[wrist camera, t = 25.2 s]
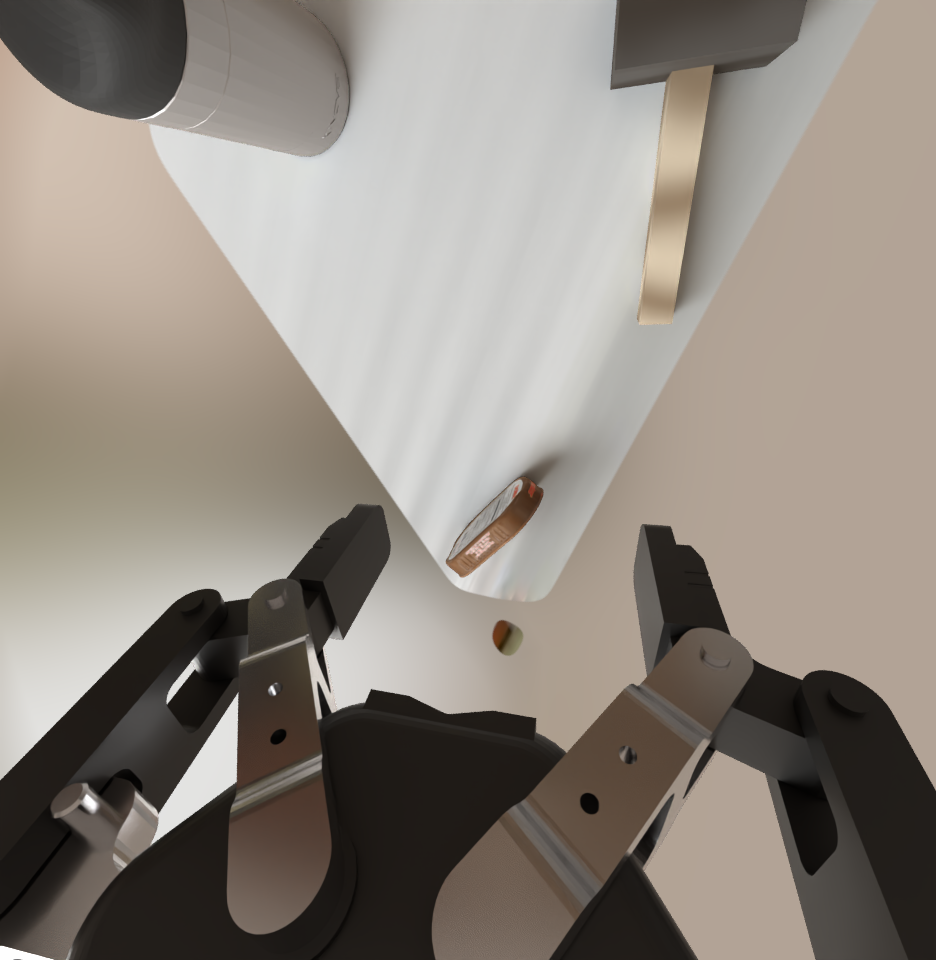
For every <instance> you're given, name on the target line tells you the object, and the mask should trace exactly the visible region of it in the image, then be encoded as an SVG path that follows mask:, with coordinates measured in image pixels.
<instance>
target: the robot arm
mask: <svg viewBox="0 0 936 960" xmlns="http://www.w3.org/2000/svg"><path fill="white" fill-rule="evenodd" d="M0 38H1V40H2V41H3V42H4V44H5V45H6V46H7V48H8V49H9V50H10V51H11V52H12V54H13V55H14V56H15V57H16V59H17V60H18V61H19V62H20V63H21V64H22V65H23V67H24V68H25V69H26V70H27V71H28V72H30V74H32V76H34V77H35V78H36V79H37V80H38V81H39V82H40V83H42V84H43V85H44V86H45V87H46V88H48V89H49V90H51V91H52V92H53V93H55V94H56V95H58V96H60V97H61V98H63V99H65V100H66V101H68V102H71V103H72V104H75V105H77V106H79V107H82V108H85V109H87V110H90V111H94V112H98V113H102V114H106V115H110V116H115V117H120V118H125V119H130V120H135V121H139V122H144V123H148V124H153V125H158V126H162V127H167V128H173V129H178V130H182V131H187V132H191V133H196V134H201V135H205V136H210V137H215V138H219V139H224V140H229V141H233V142H238V143H242V144H247V145H252V146H256V147H261V148H266V149H270V150H274V151H278V152H283V153H288V154H292V155H297V156H310V157H311V156H315V155H318V154H321V153H323V152H324V151H326V150H327V149H329V148H330V147H331V146H332V145H333V144H334V142H335V141H336V140H337V139H338V137H339V135H340V133H341V131H342V130H343V127H344V124H345V121H346V117H347V112H348V105H349V84H348V78H347V72H346V67H345V64H344V61H343V58H342V55H341V52H340V50H339V48H338V46H337V44H336V42H335V40H334V38H333V36H332V35H331V34H330V32H329V31H328V29H327V28H326V27H325V25H324V24H323V23H322V22H321V21H320V20H318V19H317V18H316V17H315V16H314V15H313V14H312V13H310V12H309V11H308V10H306V9H305V8H304V7H302V6H301V5H300V4H298V3H297V2H296V1H294V0H0ZM390 546H391V545H390V538H389V534H388V529H387V524H386V520H385V515H384V511H383V508H382V507H381V506H380V505H368V504H357V505H356V506H355V507H354V508H353V510H352V511H351V512H350V513H349V515H348V516H347V517H346V518H341V519H339V520H338V521H336V522H335V523H333V524H332V525H330V526H329V527H328V528H327V529H326V530H325V532H324V533H323V534H322V535H321V537H320V540H317V541H316V543H315V544H314V545H313V548H311V549H310V550H309V551H308V553H307V554H306V555H305V556H304V558H303V559H302V560H301V561H300V562H299V564H298V565H297V566H296V567H295V569H294V570H293V571H292V572H291V574H290V575H289V576H288V577H287V579H279V580H275V581H272V582H270V583H267V584H265V585H264V586H262V587H261V588H259V589H258V590H257V591H256V592H255V593H254V594H253V595H252V596H251V598H249V599H242V600H235V601H228V602H224V600H223V599H222V597H221V595H220V593H219V592H218V591H216V590H214V589H202V590H197V591H194V592H192V593H189V594H187V595H185V596H183V597H182V598H180V599H179V600H177V601H176V602H175V603H173V604H172V605H171V606H170V607H169V608H168V609H167V610H166V611H165V612H164V614H163V615H161V617H160V618H159V619H158V620H157V621H156V622H155V623H154V624H153V625H152V626H151V627H150V628H149V629H148V630H147V631H146V632H145V633H144V634H143V635H142V636H141V637H140V638H139V639H138V640H137V641H136V642H135V643H134V644H133V645H132V646H131V647H130V648H129V649H128V650H127V651H126V652H125V653H124V654H123V655H122V656H121V657H120V659H118V661H117V662H116V663H115V664H114V665H113V666H112V667H111V668H110V669H109V670H108V671H107V672H106V673H105V674H104V675H103V676H102V677H101V678H100V679H99V680H98V681H97V682H96V683H95V684H94V685H93V686H92V687H91V688H90V689H89V690H88V691H87V692H86V693H85V694H84V695H83V696H82V697H81V698H80V699H79V700H78V702H77V703H76V704H75V705H74V706H73V707H72V708H71V709H70V710H69V711H68V712H67V713H66V714H65V715H64V716H63V717H62V718H61V719H60V720H59V721H58V722H57V723H56V724H55V725H54V726H53V727H52V728H51V729H50V730H49V731H48V732H47V733H46V734H45V735H44V736H43V737H42V738H41V739H40V740H39V741H38V742H37V743H36V744H35V745H34V747H33V748H32V749H31V750H30V751H29V752H28V753H27V754H26V755H25V756H24V757H23V758H22V759H21V760H20V761H19V762H18V763H17V764H16V765H15V766H14V767H13V768H12V769H11V770H10V771H9V772H8V773H7V774H6V775H5V776H4V778H2V779H1V780H0V960H698V959H697V957H696V955H695V954H694V952H693V950H692V949H691V947H690V946H689V944H688V942H687V941H686V939H685V937H684V936H683V934H682V932H681V931H680V929H679V928H678V926H677V924H676V923H675V921H674V919H673V918H672V916H671V915H670V913H669V911H668V910H667V908H666V906H665V905H664V903H663V901H662V900H661V898H660V897H659V895H658V893H657V892H656V890H655V889H654V887H653V885H652V883H651V882H650V880H649V879H648V877H647V875H646V874H645V872H644V871H645V869H646V867H647V866H648V864H649V863H650V861H651V860H652V858H653V856H654V855H655V853H656V852H657V850H658V848H659V847H660V845H661V844H662V842H663V840H664V839H665V837H666V835H667V834H668V832H669V830H670V828H671V826H672V824H673V823H674V821H675V819H676V817H677V815H678V813H679V811H680V810H681V808H682V806H683V805H684V803H685V802H686V800H687V798H688V797H689V795H690V794H691V792H692V791H693V789H694V787H695V786H696V784H697V783H698V781H699V780H700V778H701V777H702V775H703V773H704V772H705V770H706V769H707V767H708V766H709V764H710V762H711V761H712V759H713V758H714V756H715V754H716V753H717V752H718V751H719V752H721V753H724V754H726V755H728V756H730V757H732V758H734V759H736V760H738V761H740V762H742V763H745V764H747V765H749V766H751V767H753V768H755V769H757V770H759V771H761V772H763V773H765V775H766V778H767V782H768V786H769V789H770V793H771V796H772V800H773V804H774V808H775V811H776V815H777V819H778V823H779V826H780V830H781V833H782V837H783V841H784V845H785V848H786V852H787V856H788V859H789V863H790V867H791V870H792V874H793V878H794V882H795V885H796V889H797V892H798V896H799V900H800V904H801V907H802V911H803V915H804V918H805V922H806V926H807V929H808V933H809V937H810V941H811V944H812V948H813V952H814V955H815V959H816V960H936V790H935V789H934V787H933V785H932V783H931V781H930V780H929V778H928V776H927V774H926V772H925V771H924V769H923V767H922V765H921V763H920V762H919V760H918V758H917V756H916V755H915V753H914V751H913V749H912V747H911V745H910V744H909V742H908V740H907V738H906V736H905V735H904V733H903V731H902V729H901V728H900V726H899V724H898V722H897V720H896V719H895V717H894V715H893V713H892V711H891V710H890V708H889V707H888V705H887V704H886V703H885V702H884V701H883V699H882V698H881V697H879V696H878V695H877V694H876V693H875V692H874V691H873V690H871V689H870V688H869V687H867V686H866V685H864V684H863V683H861V682H859V681H857V680H855V679H854V678H851V677H849V676H847V675H844V674H841V673H838V672H833V671H826V670H818V671H814V672H811V673H809V674H807V675H806V676H805V677H804V679H803V680H801V679H798V678H795V677H793V676H790V675H787V674H785V673H782V672H779V671H776V670H774V669H771V668H769V667H766V666H764V665H762V664H760V663H758V662H757V661H755V660H754V659H752V657H751V655H750V654H749V652H748V651H747V649H746V648H745V647H744V646H743V645H742V644H741V643H740V642H739V641H738V640H736V639H735V638H733V637H732V636H731V635H730V632H729V630H728V627H727V624H726V621H725V618H724V615H723V613H722V610H721V607H720V605H719V601H718V599H717V596H716V593H715V590H714V589H713V585H712V582H711V579H710V577H709V576H708V571H707V568H706V565H705V562H704V560H703V558H702V557H701V556H700V555H699V554H698V553H697V552H696V551H695V550H694V549H693V548H692V547H691V546H689V545H676V542H675V539H674V536H673V532H672V529H671V527H670V526H662V525H647V524H642V526H641V529H640V534H639V540H638V546H637V552H636V558H635V564H634V589H635V596H636V603H637V610H638V617H639V624H640V631H641V638H642V645H643V652H644V658H645V665H646V672H647V677H646V679H645V680H644V681H643V682H642V683H641V684H640V685H639V686H636V685H634V684H630V685H629V686H627V687H626V688H625V689H624V690H623V691H622V692H621V693H620V694H619V695H618V696H617V697H616V699H615V700H614V701H613V702H612V703H611V704H610V706H608V708H607V709H606V710H605V711H604V712H603V713H602V714H601V715H600V716H599V718H598V719H597V720H596V721H595V722H594V723H593V724H592V725H591V726H590V728H589V729H588V730H587V731H586V732H585V733H584V734H583V735H582V736H581V738H580V739H579V740H578V741H577V742H576V743H575V744H574V745H573V746H572V748H571V749H570V750H569V751H568V752H567V753H566V752H565V751H564V750H563V749H562V748H560V747H559V746H558V745H557V744H555V743H554V742H552V741H551V740H549V739H547V738H546V737H544V736H542V735H540V734H538V733H536V718H532V717H525V716H520V715H514V714H509V713H503V712H497V711H483V712H471V713H459V714H446V713H443V712H441V711H439V710H437V709H435V708H433V707H431V706H429V705H426V704H424V703H422V702H420V701H418V700H416V699H414V698H412V697H410V696H406V695H400V694H395V693H389V692H384V691H378V690H372V689H371V691H370V693H369V695H368V698H367V700H366V702H365V703H359V704H355V705H351V706H348V707H345V708H342V709H340V710H337V707H336V703H335V698H334V693H333V688H332V682H331V677H330V672H329V667H328V661H327V656H326V652H325V649H324V645H325V643H326V641H327V640H328V638H332V639H339V640H343V639H344V637H345V636H346V634H347V632H348V630H349V629H350V627H351V625H352V623H353V621H354V620H355V618H356V616H357V614H358V612H359V611H360V609H361V607H362V605H363V603H364V602H365V600H366V598H367V596H368V595H369V593H370V591H371V589H372V588H373V586H374V584H375V582H376V580H377V579H378V577H379V575H380V573H381V572H382V569H383V568H384V566H385V564H386V563H387V561H388V558H389V555H390ZM190 663H192V664H193V666H194V667H195V670H194V671H193V672H192V674H191V675H190V676H189V677H188V679H187V680H186V681H185V683H184V684H183V685H182V686H181V688H180V689H179V690H178V692H177V693H176V694H175V695H174V696H173V698H172V699H171V700H170V702H169V703H168V704H166V700H167V694H168V692H169V690H170V688H171V686H172V685H173V683H174V682H175V681H176V680H177V679H178V677H179V676H180V675H181V674H182V672H183V671H184V670H185V669H186V667H187V666H188V665H189V664H190ZM238 692H239V694H238V695H239V696H238V747H237V782H236V783H235V784H233V785H232V786H231V787H229V788H228V789H226V790H225V791H224V792H222V793H221V794H220V795H219V796H217V797H216V798H215V799H213V800H212V801H210V802H209V803H207V804H206V805H205V806H204V807H202V808H201V809H199V810H198V811H197V812H195V813H194V814H193V815H191V816H190V817H189V818H187V819H186V820H185V821H183V822H182V823H180V824H179V825H178V826H176V827H175V828H174V829H172V830H171V831H170V832H168V833H167V834H165V835H164V836H163V837H161V838H160V839H159V840H157V841H156V842H155V843H153V844H152V843H151V842H152V840H153V838H154V835H155V833H156V830H157V826H158V814H159V812H160V811H161V809H162V808H163V806H164V804H165V803H166V802H167V800H168V799H169V797H170V795H171V794H172V792H173V791H174V789H175V788H176V786H177V784H178V783H179V782H180V780H181V779H182V777H183V776H184V774H185V773H186V771H187V769H188V768H189V766H190V765H191V763H192V762H193V760H194V759H195V757H196V756H197V754H198V753H199V751H200V750H201V748H202V747H203V745H204V744H205V742H206V740H207V739H208V737H209V736H210V735H211V733H212V732H213V730H214V728H215V727H216V725H217V724H218V722H219V721H220V719H221V718H222V716H223V715H224V713H225V712H226V710H227V708H228V707H229V705H230V704H231V703H232V701H233V699H234V698H235V696H236V695H237V693H238Z"/></svg>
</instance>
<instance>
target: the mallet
mask: <svg viewBox="0 0 936 960" xmlns="http://www.w3.org/2000/svg"><path fill="white" fill-rule="evenodd" d="M806 1H807V0H617V5H616V19H615V33H614V46H613V60H612V74H611V88H610V90H612V89H618V88H625V87H632V86H638V85H645V84H652V83H658V82H665V81H666V85H665V93H664V102H663V110H662V118H661V126H660V134H659V143H658V151H657V159H656V167H655V175H654V184H653V192H652V200H651V208H650V216H649V225H648V233H647V241H646V249H645V257H644V266H643V274H642V282H641V290H640V298H639V307H638V315H637V320H638V322H639V324H640V325H648V324H672V320H673V314H674V308H675V302H676V296H677V290H678V284H679V277H680V271H681V265H682V259H683V253H684V247H685V241H686V234H687V228H688V222H689V216H690V210H691V204H692V198H693V191H694V185H695V179H696V173H697V167H698V161H699V155H700V148H701V142H702V136H703V130H704V124H705V118H706V112H707V105H708V99H709V93H710V87H711V81H712V75H713V74H718V73H724V72H731V71H738V70H744V69H751V68H757V67H764V66H767V65H768V64H769V63H771V62H772V61H773V60H774V59H775V58H777V57H778V56H779V55H780V54H782V53H783V52H784V51H785V50H787V49H788V48H789V47H790V46H791V45H793V44H794V43H795V42H796V41H797V39H798V35H799V31H800V26H801V22H802V18H803V13H804V9H805V5H806Z"/></svg>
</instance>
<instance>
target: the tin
mask: <svg viewBox="0 0 936 960" xmlns="http://www.w3.org/2000/svg"><path fill="white" fill-rule="evenodd" d="M542 497H543V489H542V488H539V487H538V486H537V485H536V484H535V483H533V482H532V481H531V480H530V479H528V478H527V477H520V478H518V479H516V480H515V481H514V482H512V483H511V484H510V485H509V486H508V487H507V488H506V489H505V490H504V491H503V492H501V493H500V494H499V495H498V496H497V497H496V498H495V499H494V500H493V501H492V502H491V503H490V504H489V505H488V506H487V507H485V508H484V509H483V510H482V511H481V512H480V513H479V514H478V515H477V516H476V517H475V518H474V519H473V520H472V521H471V522H470V524H469V525H468V526H467V527H466V528H465V529H464V530H463V532H462V533H461V534H460V536H459V537H458V538H457V540H456V542H455V543H454V546H453V549H452V551H451V552H450V554H449V556H448V558H447V559H446V564H447V565H448V566H449V567H450V568H451V569H453V570H454V571H455V572H456V573H458V574H459V576H460V577H466V576H467V575H469V574H470V573H472V572H473V571H474V570H475V569H476V568H478V567H479V566H480V565H481V564H482V563H484V562H485V561H486V560H487V559H488V558H489V557H491V556H492V555H493V554H494V553H496V552H497V551H498V550H499V549H500V548H502V547H503V546H504V545H505V544H506V543H507V542H509V541H510V540H511V539H512V538H513V537H514V536H516V535H517V534H518V533H519V531H520V530H521V529H522V528H523V527H524V526H525V525H526V523H527V522H528V521H529V520H530V518H531V517H532V516H533V514H534V513H535V511H536V510H537V508H538V506H539V504H540V502H541V500H542Z"/></svg>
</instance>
